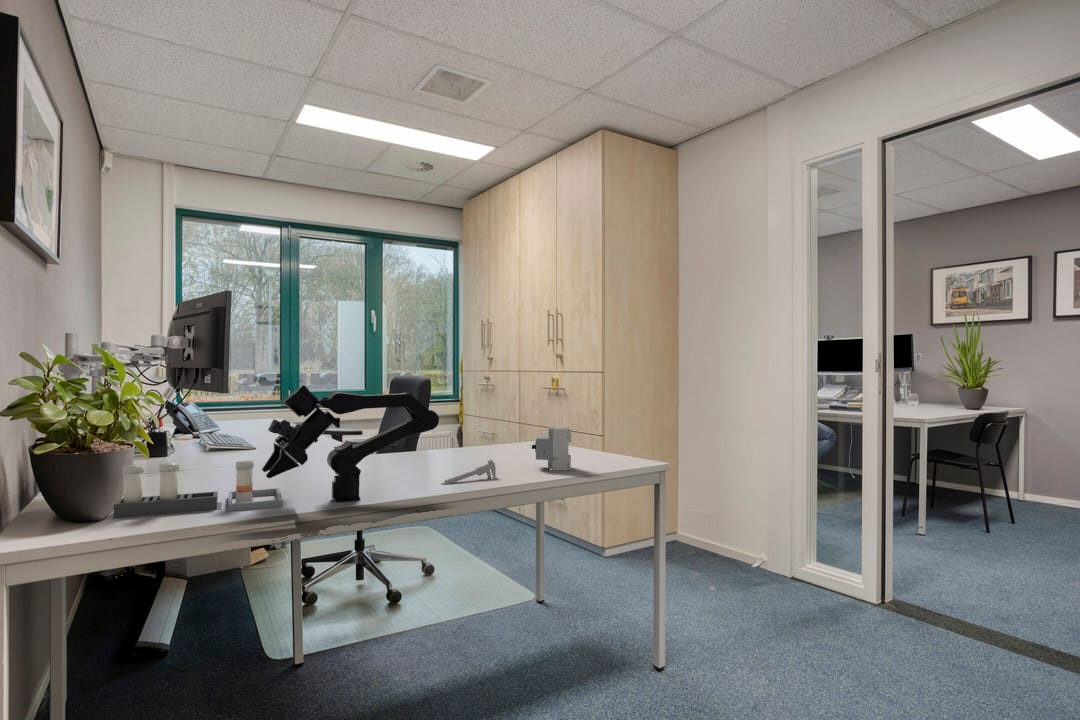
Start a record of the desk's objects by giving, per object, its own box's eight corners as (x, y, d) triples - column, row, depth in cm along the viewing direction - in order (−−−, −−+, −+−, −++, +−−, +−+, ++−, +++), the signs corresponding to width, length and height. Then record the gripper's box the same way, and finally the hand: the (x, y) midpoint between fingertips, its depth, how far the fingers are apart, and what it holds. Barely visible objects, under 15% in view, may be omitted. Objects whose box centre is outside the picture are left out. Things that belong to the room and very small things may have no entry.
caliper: (493, 477, 193) (493, 458, 193) (495, 478, 192) (495, 459, 192) (441, 485, 179) (441, 464, 179) (443, 485, 178) (443, 465, 178)
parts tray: (279, 499, 156) (279, 488, 156) (282, 512, 142) (282, 500, 142) (228, 503, 150) (228, 491, 150) (227, 517, 137) (227, 504, 137)
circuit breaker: (532, 466, 214) (532, 425, 214) (570, 467, 213) (571, 426, 213) (530, 469, 206) (531, 428, 207) (570, 470, 206) (571, 429, 206)
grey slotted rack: (222, 508, 145) (222, 490, 145) (221, 515, 138) (221, 497, 138) (113, 517, 135) (114, 498, 135) (106, 526, 128) (107, 506, 128)
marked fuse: (252, 503, 147) (253, 460, 147) (253, 506, 144) (253, 462, 144) (235, 504, 145) (235, 461, 145) (235, 508, 142) (235, 463, 142)
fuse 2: (179, 507, 139) (180, 462, 139) (177, 511, 135) (178, 464, 135) (159, 509, 137) (160, 463, 137) (157, 513, 134) (158, 465, 134)
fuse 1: (144, 510, 136) (145, 463, 136) (141, 514, 132) (142, 466, 132) (123, 512, 134) (124, 464, 134) (120, 516, 130) (121, 467, 130)
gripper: (283, 405, 158) (237, 448, 152) (294, 411, 142) (243, 458, 136) (313, 433, 162) (269, 475, 156) (327, 441, 146) (279, 488, 140)
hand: (265, 474), depth 147 cm, fingers open, 9 cm apart
